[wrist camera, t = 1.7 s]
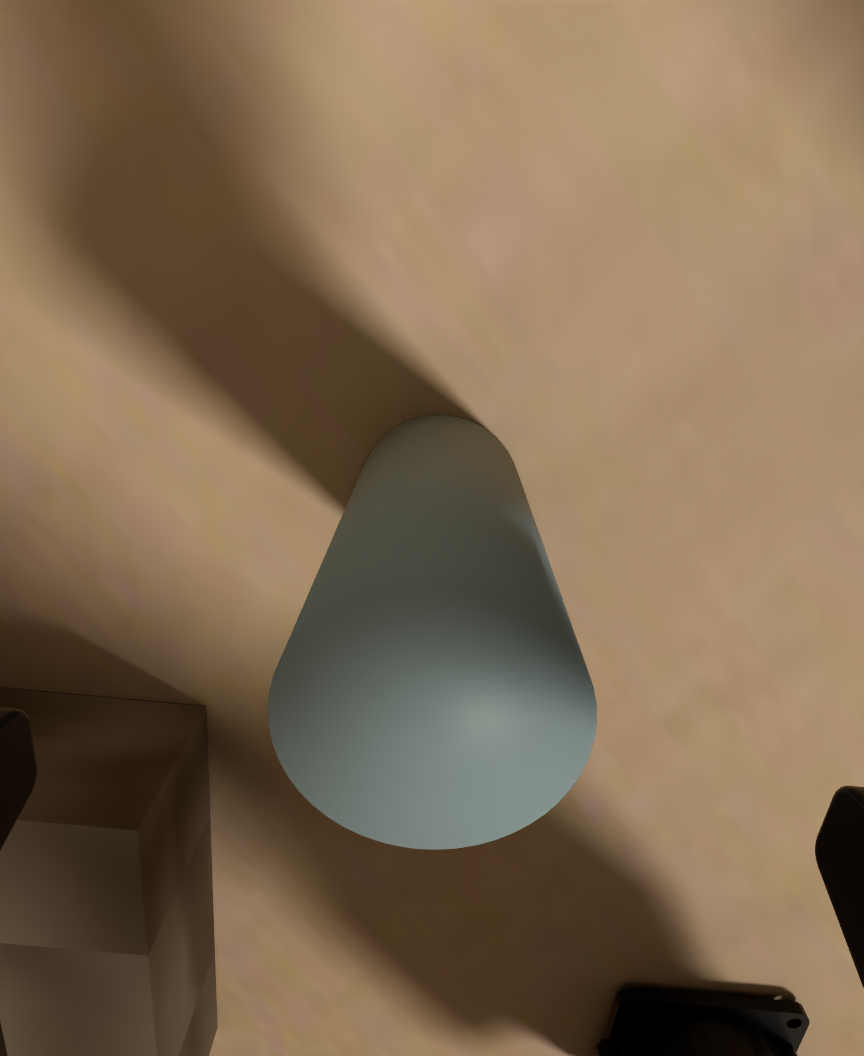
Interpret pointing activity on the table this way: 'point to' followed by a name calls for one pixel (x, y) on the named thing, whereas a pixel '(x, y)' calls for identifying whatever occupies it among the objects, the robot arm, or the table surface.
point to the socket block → (109, 883)
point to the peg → (434, 653)
